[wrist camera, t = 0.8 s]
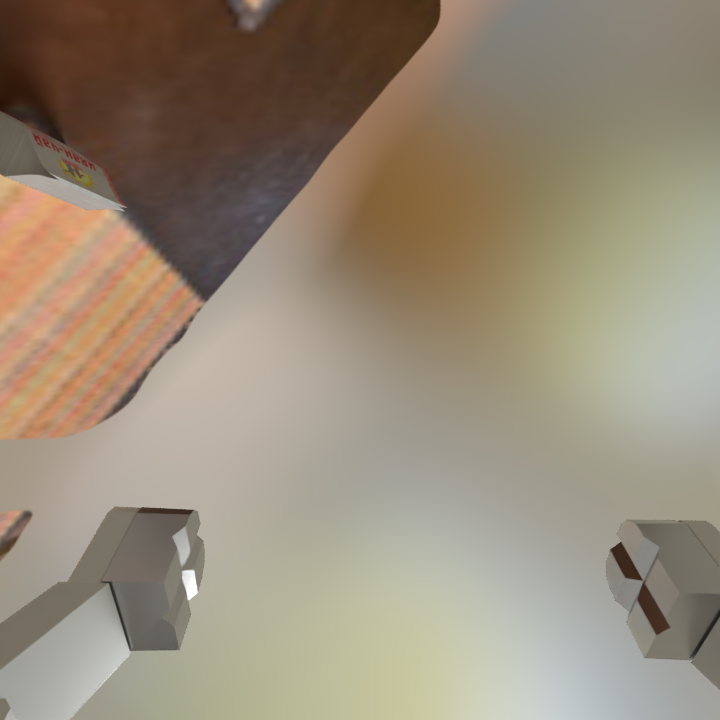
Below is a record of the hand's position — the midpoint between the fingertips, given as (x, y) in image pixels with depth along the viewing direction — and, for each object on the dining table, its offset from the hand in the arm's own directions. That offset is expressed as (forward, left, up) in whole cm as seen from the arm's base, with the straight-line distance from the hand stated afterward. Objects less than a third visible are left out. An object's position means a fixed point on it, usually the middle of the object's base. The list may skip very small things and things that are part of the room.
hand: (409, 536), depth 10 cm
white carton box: (-1, -16, -45) cm, 48 cm away
